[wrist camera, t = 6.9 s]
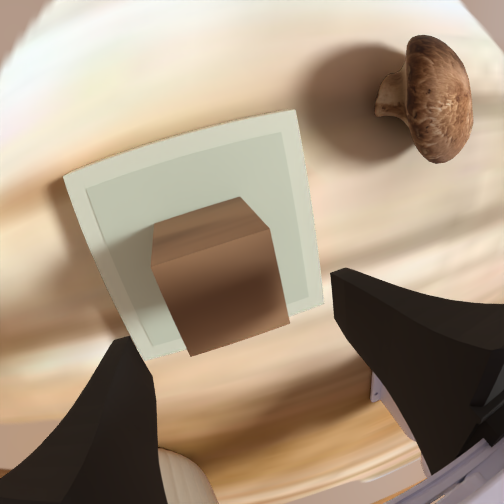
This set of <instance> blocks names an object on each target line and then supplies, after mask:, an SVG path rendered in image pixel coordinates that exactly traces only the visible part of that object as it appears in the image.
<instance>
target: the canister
mask: <svg viewBox="0 0 504 504" xmlns="http://www.w3.org/2000/svg"><path fill="white" fill-rule="evenodd" d="M158 456H159V465H160V470H161V476H162V481H163V486H164V490H165V494H166V498H167V502H168V504H219V503H218V501H217V498H216V496H215V493H214V491H213V489H212V487H211V484H210V482H209V481H208V479H207V477H206V475H205V473H204V472H203V471H202V470H201V469H200V468H199V467H198V465H197V464H195V463H194V462H193V461H191V460H190V459H189V458H187V457H184V456H182V455H181V454H179V453H174V452H173V451H168V450H165V449H163V448H158Z"/></svg>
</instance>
